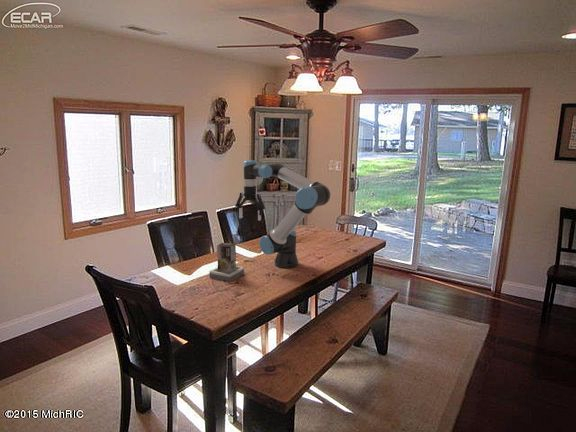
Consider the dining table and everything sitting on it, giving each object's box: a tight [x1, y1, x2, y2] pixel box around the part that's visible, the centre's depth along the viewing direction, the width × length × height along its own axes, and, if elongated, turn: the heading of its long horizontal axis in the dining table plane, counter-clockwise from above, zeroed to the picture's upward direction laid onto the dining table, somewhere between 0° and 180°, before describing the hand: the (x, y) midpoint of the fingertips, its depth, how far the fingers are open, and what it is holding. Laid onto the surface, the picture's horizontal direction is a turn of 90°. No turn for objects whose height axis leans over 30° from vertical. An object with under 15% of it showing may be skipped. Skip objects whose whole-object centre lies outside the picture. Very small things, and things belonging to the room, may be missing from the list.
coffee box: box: [216, 242, 237, 273], centre depth 241 cm, size 9×6×16 cm
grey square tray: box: [209, 265, 245, 282], centre depth 242 cm, size 14×15×4 cm
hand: (250, 219), depth 261 cm, fingers open, 13 cm apart
